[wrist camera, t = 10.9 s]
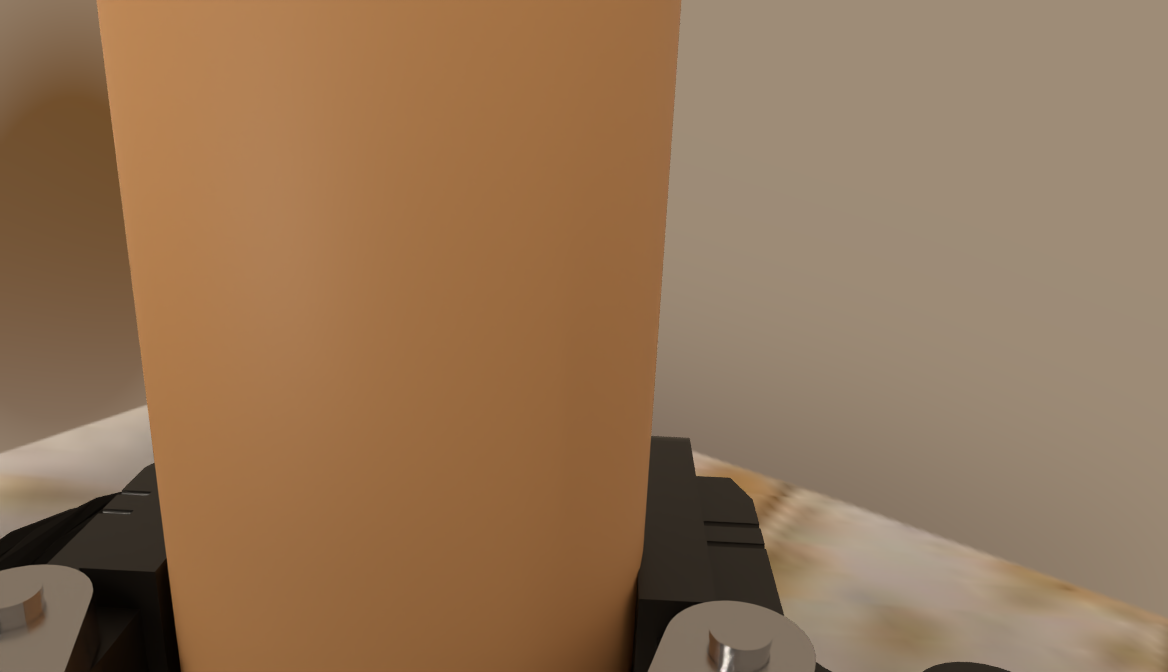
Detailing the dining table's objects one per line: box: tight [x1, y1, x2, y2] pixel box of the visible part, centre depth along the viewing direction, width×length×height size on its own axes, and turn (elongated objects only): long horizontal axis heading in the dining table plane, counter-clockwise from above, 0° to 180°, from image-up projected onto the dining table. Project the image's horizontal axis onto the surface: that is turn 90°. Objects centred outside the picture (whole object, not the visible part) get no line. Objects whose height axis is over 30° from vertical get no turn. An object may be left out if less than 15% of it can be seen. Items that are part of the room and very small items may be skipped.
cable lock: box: [0, 492, 122, 571], centre depth 38 cm, size 28×4×30 cm
